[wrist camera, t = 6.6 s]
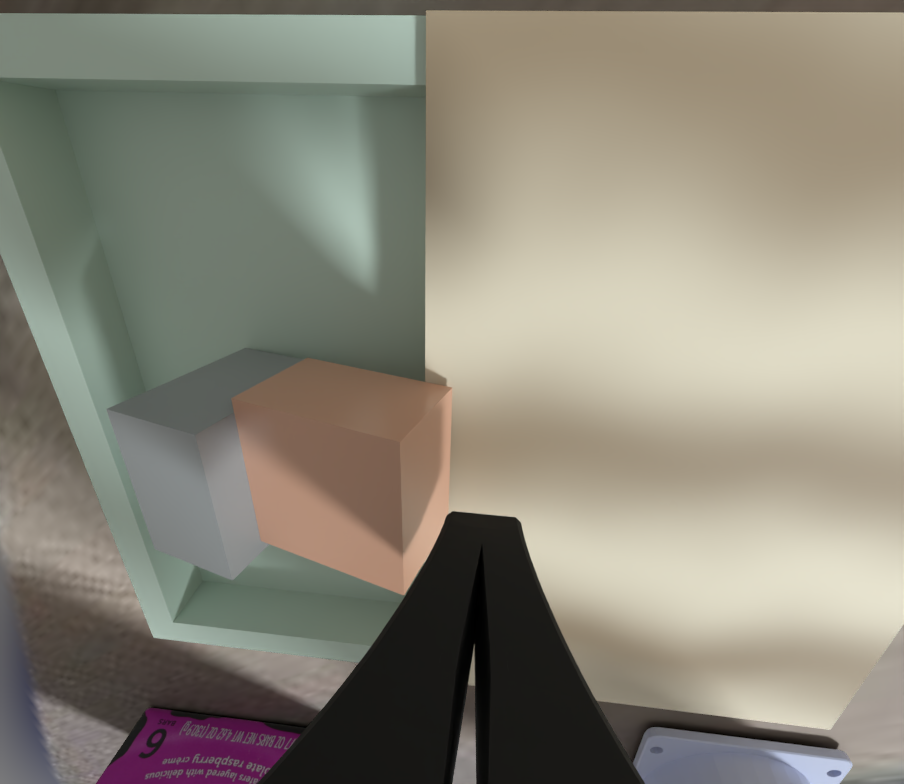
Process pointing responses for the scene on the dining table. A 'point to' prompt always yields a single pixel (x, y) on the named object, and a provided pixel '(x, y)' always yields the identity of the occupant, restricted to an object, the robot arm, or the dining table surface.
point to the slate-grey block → (196, 462)
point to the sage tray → (215, 251)
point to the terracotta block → (348, 467)
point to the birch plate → (680, 337)
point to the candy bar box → (198, 750)
